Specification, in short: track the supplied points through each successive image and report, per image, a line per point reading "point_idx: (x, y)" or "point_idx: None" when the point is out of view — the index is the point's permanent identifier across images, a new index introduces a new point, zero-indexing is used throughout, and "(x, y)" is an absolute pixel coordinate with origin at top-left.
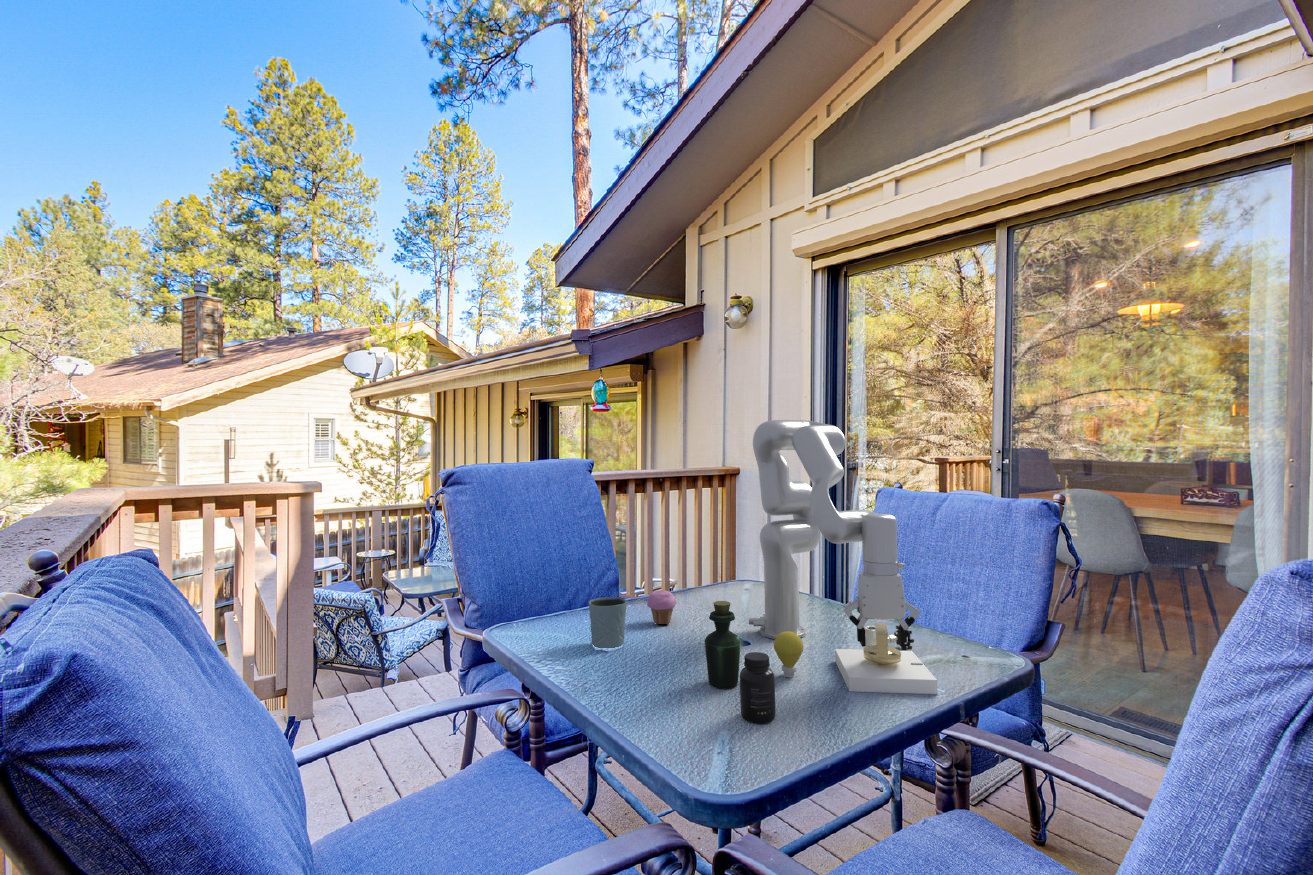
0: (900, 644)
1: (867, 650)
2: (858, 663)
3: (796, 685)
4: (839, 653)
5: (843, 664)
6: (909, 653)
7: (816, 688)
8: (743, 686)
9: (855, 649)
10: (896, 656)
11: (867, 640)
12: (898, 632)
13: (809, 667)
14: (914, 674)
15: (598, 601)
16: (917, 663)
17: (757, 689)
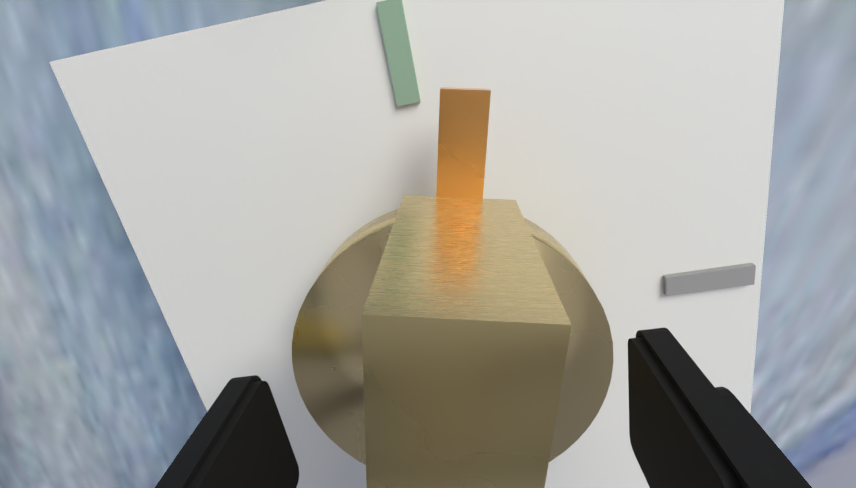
0: (635, 434)
1: (327, 381)
2: (289, 349)
3: (54, 461)
4: (119, 176)
5: (200, 386)
6: (734, 4)
7: (145, 473)
8: None
9: (223, 23)
10: (554, 455)
11: None
12: (688, 463)
13: (12, 227)
14: (631, 449)
15: None
16: (715, 283)
17: None
